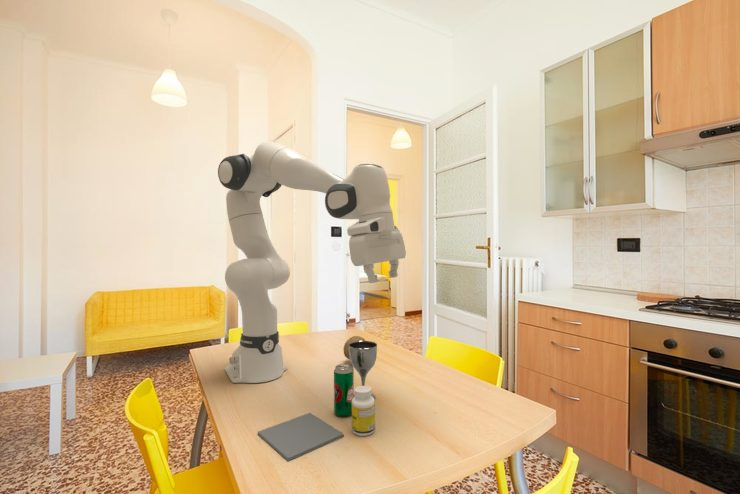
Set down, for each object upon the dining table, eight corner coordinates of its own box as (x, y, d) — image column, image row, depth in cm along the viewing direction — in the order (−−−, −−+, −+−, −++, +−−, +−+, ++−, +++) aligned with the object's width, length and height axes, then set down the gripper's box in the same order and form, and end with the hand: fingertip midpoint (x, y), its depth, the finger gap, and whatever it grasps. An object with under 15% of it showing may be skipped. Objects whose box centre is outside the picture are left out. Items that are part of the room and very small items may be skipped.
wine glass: (356, 405, 98) (356, 349, 98) (344, 394, 105) (344, 342, 105) (382, 399, 101) (382, 346, 101) (369, 389, 108) (369, 339, 108)
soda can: (351, 418, 90) (350, 370, 90) (331, 416, 91) (331, 369, 91) (355, 409, 95) (355, 364, 95) (337, 407, 96) (337, 362, 96)
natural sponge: (362, 369, 126) (361, 340, 126) (339, 366, 130) (338, 338, 130) (371, 361, 135) (371, 334, 135) (349, 358, 138) (349, 332, 138)
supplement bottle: (351, 425, 87) (351, 384, 87) (373, 424, 87) (373, 383, 87) (352, 437, 82) (351, 393, 82) (376, 436, 82) (375, 393, 82)
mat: (257, 434, 83) (257, 431, 83) (310, 415, 92) (310, 412, 92) (288, 461, 73) (288, 458, 73) (343, 436, 82) (343, 433, 82)
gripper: (388, 227, 104) (394, 275, 103) (342, 229, 87) (349, 286, 87) (407, 223, 100) (414, 273, 100) (363, 225, 83) (371, 285, 83)
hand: (383, 279), depth 93 cm, fingers open, 8 cm apart
